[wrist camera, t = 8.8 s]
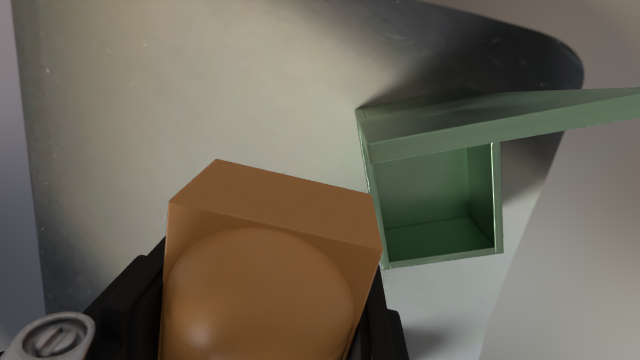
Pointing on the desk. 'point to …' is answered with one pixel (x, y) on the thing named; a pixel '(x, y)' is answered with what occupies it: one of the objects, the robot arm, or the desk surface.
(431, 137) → the lid
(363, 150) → the bread box
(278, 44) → the desk surface
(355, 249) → the bread
